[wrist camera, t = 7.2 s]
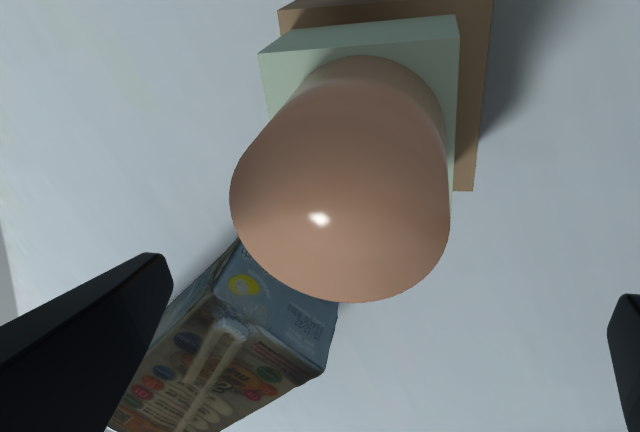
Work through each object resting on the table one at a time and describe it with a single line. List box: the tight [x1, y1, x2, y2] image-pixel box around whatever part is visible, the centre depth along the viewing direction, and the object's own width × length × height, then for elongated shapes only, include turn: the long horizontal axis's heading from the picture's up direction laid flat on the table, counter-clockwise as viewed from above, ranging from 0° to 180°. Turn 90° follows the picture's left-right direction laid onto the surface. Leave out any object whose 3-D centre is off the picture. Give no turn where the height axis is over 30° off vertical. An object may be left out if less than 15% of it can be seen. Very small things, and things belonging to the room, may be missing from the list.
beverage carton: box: [107, 238, 339, 432], centre depth 29 cm, size 8×19×7 cm, turn 140°
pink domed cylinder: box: [229, 55, 450, 303], centre depth 11 cm, size 5×5×4 cm
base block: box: [277, 0, 493, 191], centre depth 17 cm, size 7×7×4 cm
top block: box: [257, 14, 460, 219], centre depth 14 cm, size 6×6×4 cm
